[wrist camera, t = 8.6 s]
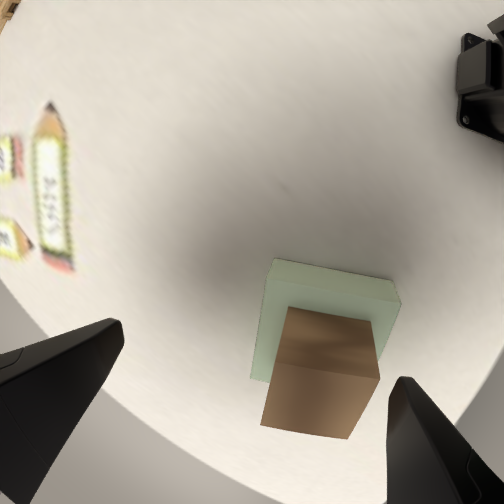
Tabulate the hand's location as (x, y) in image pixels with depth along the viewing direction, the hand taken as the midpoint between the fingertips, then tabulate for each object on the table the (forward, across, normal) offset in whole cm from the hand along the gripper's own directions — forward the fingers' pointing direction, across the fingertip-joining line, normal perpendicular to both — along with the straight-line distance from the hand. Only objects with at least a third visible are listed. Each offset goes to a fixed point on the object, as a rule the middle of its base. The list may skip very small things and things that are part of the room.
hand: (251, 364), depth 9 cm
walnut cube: (+9, -3, +6) cm, 11 cm away
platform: (+12, -3, +6) cm, 13 cm away
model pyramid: (+12, +36, -26) cm, 46 cm away
